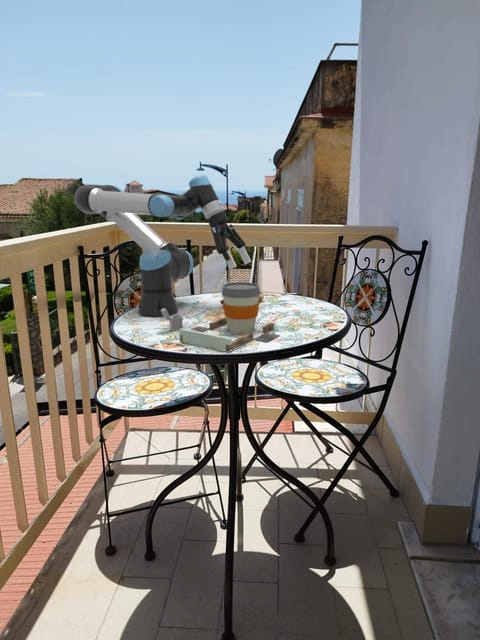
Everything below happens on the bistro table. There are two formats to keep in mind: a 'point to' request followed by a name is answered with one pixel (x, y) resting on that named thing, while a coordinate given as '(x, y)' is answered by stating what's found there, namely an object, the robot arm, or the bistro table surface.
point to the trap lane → (242, 340)
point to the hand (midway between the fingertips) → (241, 265)
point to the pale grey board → (205, 339)
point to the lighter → (173, 320)
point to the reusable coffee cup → (241, 306)
